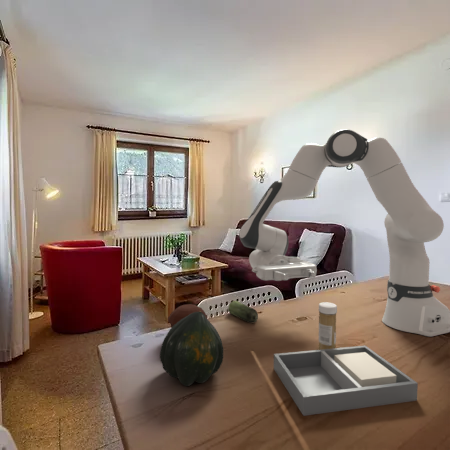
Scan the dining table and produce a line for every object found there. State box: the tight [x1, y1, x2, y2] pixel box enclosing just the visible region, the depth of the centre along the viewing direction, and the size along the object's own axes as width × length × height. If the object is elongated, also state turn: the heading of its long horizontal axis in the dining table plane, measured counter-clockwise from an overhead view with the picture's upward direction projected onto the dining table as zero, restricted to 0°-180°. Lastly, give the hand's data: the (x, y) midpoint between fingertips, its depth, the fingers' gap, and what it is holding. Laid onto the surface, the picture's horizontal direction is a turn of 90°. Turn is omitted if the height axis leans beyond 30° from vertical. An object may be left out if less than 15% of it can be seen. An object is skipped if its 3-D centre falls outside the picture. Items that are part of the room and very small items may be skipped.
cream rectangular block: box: [334, 352, 396, 387], centre depth 65 cm, size 8×10×4 cm
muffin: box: [167, 304, 208, 329], centre depth 87 cm, size 12×11×10 cm
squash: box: [159, 311, 224, 387], centre depth 69 cm, size 14×15×15 cm
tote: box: [273, 345, 419, 417], centre depth 64 cm, size 24×16×4 cm, turn 100°
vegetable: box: [227, 300, 259, 324], centre depth 104 cm, size 14×5×5 cm, turn 35°
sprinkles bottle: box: [318, 301, 338, 350], centre depth 78 cm, size 5×5×14 cm
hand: (300, 276), depth 89 cm, fingers open, 8 cm apart
